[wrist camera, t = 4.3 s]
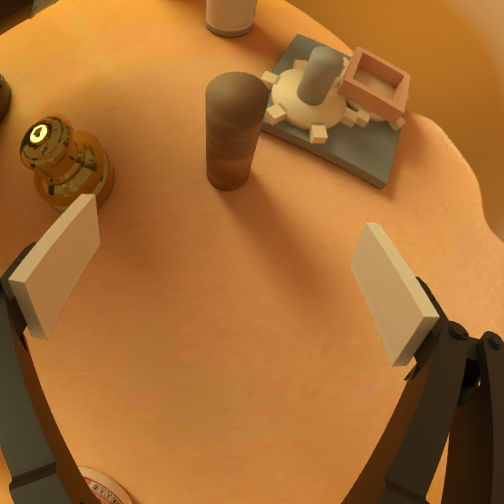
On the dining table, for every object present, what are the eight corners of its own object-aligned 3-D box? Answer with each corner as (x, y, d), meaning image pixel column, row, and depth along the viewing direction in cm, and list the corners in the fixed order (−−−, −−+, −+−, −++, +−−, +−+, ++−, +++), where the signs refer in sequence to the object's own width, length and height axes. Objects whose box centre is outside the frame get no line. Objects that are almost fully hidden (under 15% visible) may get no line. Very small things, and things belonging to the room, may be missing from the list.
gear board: (240, 121, 31) (250, 64, 22) (292, 40, 35) (307, -9, 26) (380, 189, 32) (426, 153, 23) (402, 95, 35) (435, 57, 27)
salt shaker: (97, 138, 29) (65, 80, 19) (128, 189, 28) (95, 136, 19) (42, 178, 27) (-6, 133, 18) (68, 233, 27) (14, 199, 17)
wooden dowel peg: (199, 180, 29) (194, 104, 18) (218, 148, 30) (223, 64, 18) (237, 197, 29) (254, 127, 18) (255, 163, 30) (278, 85, 19)
